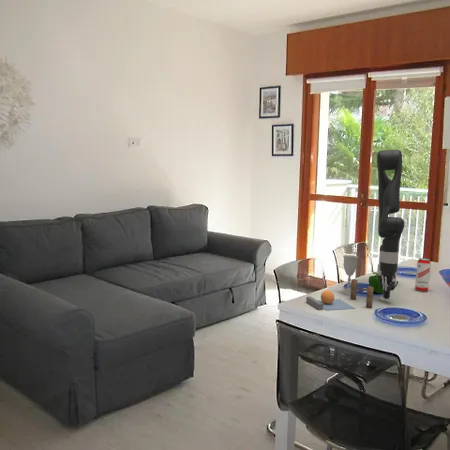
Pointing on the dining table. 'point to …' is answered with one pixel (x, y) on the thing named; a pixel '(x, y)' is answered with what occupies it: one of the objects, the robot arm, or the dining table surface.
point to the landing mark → (336, 305)
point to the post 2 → (369, 297)
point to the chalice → (349, 269)
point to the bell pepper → (375, 283)
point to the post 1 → (353, 289)
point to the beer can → (422, 275)
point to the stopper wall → (314, 303)
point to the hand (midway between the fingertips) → (386, 298)
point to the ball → (327, 297)
